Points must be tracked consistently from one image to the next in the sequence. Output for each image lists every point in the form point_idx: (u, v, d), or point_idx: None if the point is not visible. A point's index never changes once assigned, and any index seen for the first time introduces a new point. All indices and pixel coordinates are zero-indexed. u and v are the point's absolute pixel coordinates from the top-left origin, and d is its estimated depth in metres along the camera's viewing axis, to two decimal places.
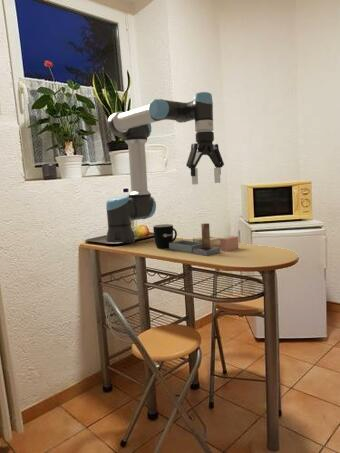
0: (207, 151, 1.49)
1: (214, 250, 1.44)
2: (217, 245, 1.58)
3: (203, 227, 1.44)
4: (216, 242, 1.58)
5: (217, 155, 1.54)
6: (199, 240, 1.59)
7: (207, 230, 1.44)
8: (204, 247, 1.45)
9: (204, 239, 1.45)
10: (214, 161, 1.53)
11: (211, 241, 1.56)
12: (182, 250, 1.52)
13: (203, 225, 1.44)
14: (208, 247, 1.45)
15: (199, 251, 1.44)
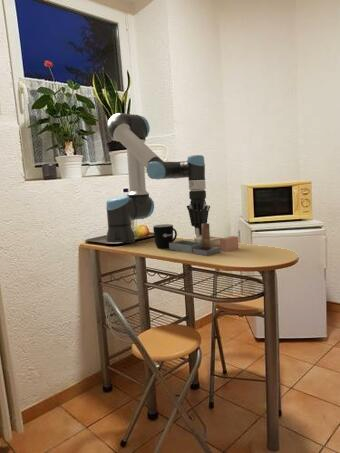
0: (196, 208, 1.62)
1: (214, 250, 1.44)
2: (219, 245, 1.58)
3: (203, 227, 1.44)
4: (218, 241, 1.57)
5: None
6: (201, 240, 1.58)
7: (207, 230, 1.44)
8: (204, 247, 1.45)
9: (204, 239, 1.45)
10: None
11: (213, 241, 1.55)
12: (182, 250, 1.52)
13: (203, 225, 1.44)
14: (208, 247, 1.45)
15: (199, 251, 1.44)
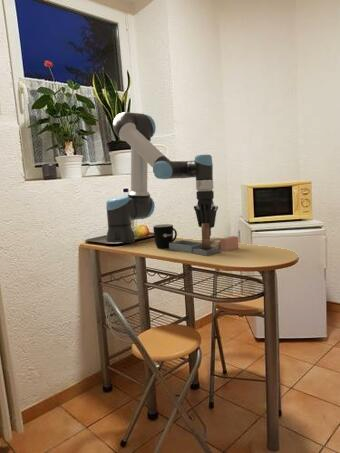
0: (204, 208, 1.59)
1: (214, 250, 1.44)
2: None
3: (203, 227, 1.44)
4: None
5: None
6: None
7: (207, 230, 1.44)
8: (204, 247, 1.45)
9: (204, 239, 1.45)
10: None
11: None
12: (182, 250, 1.52)
13: (203, 225, 1.44)
14: (208, 247, 1.45)
15: (199, 251, 1.44)
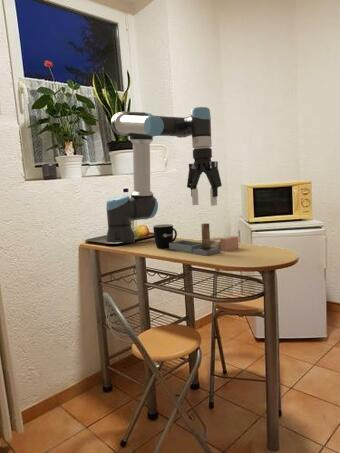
0: (201, 169, 1.42)
1: (214, 250, 1.44)
2: None
3: (203, 227, 1.44)
4: None
5: None
6: None
7: (207, 230, 1.44)
8: (204, 247, 1.45)
9: (204, 239, 1.45)
10: None
11: None
12: (182, 250, 1.52)
13: (203, 225, 1.44)
14: (208, 247, 1.45)
15: (199, 251, 1.44)
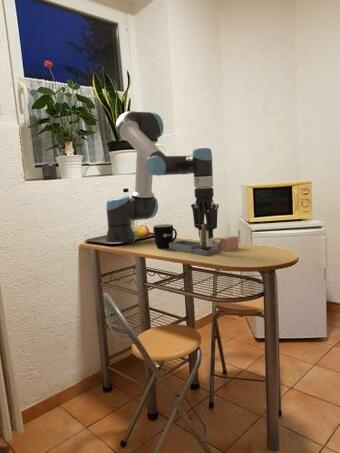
0: (203, 208, 1.44)
1: (214, 250, 1.44)
2: None
3: (203, 227, 1.44)
4: None
5: None
6: None
7: None
8: (204, 247, 1.45)
9: (204, 239, 1.45)
10: None
11: None
12: (182, 250, 1.52)
13: (203, 225, 1.44)
14: (208, 247, 1.45)
15: (199, 251, 1.44)
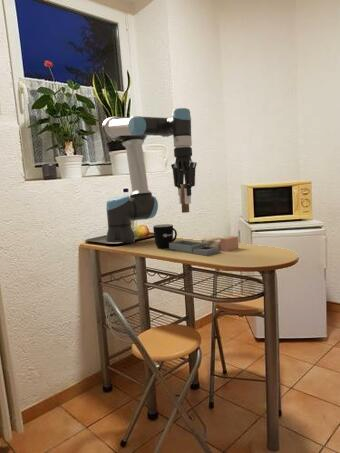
0: (182, 166, 1.50)
1: (214, 250, 1.44)
2: None
3: (182, 187, 1.51)
4: None
5: None
6: (208, 241, 1.55)
7: None
8: (183, 206, 1.52)
9: (183, 198, 1.51)
10: None
11: None
12: (182, 250, 1.52)
13: (182, 185, 1.51)
14: (187, 206, 1.52)
15: (199, 251, 1.44)
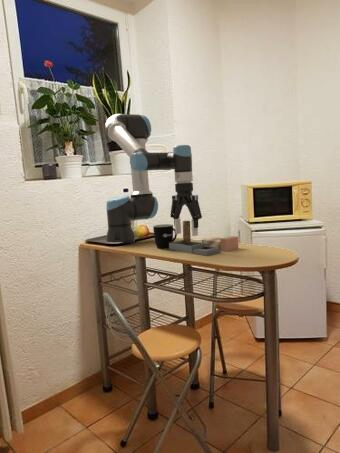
0: (183, 201, 1.52)
1: (214, 250, 1.44)
2: None
3: (184, 224, 1.53)
4: None
5: None
6: (208, 241, 1.55)
7: (188, 227, 1.53)
8: (185, 243, 1.54)
9: (185, 235, 1.53)
10: None
11: None
12: (182, 250, 1.52)
13: (184, 222, 1.53)
14: (188, 243, 1.54)
15: (199, 251, 1.44)
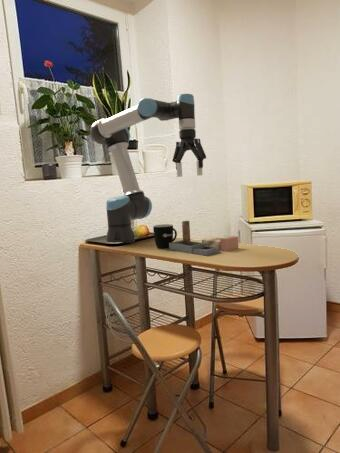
0: (186, 147, 1.66)
1: (214, 250, 1.44)
2: None
3: (183, 224, 1.53)
4: None
5: None
6: (208, 241, 1.55)
7: (187, 227, 1.53)
8: (185, 243, 1.54)
9: (184, 235, 1.53)
10: None
11: None
12: (182, 250, 1.52)
13: (183, 222, 1.53)
14: (188, 243, 1.54)
15: (199, 251, 1.44)
